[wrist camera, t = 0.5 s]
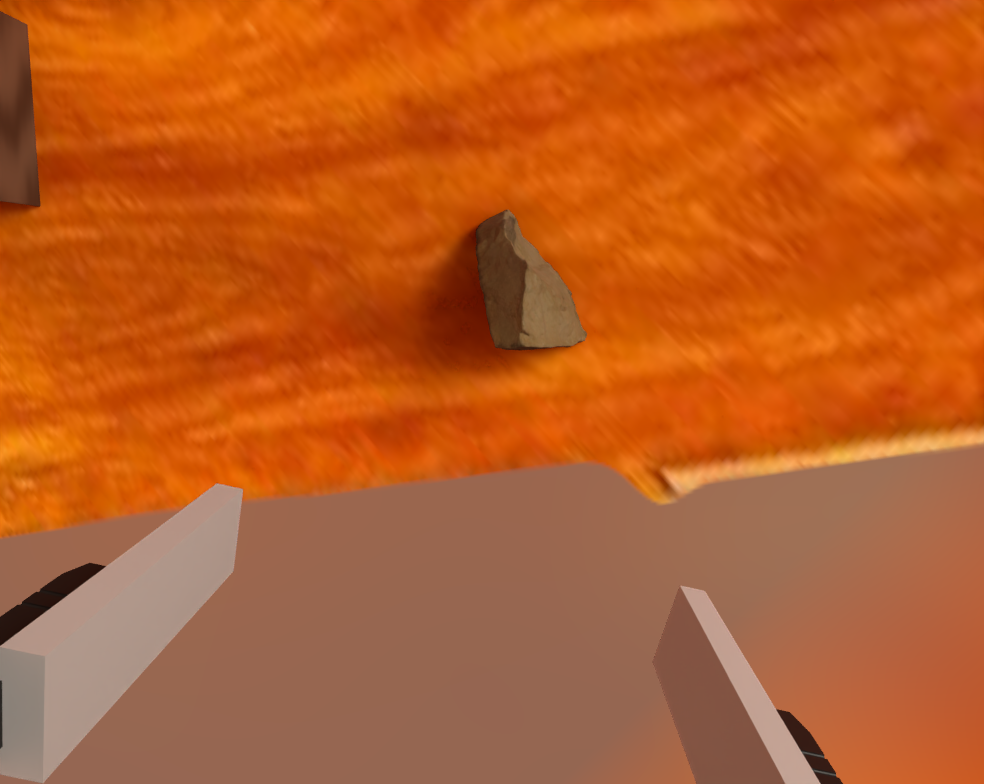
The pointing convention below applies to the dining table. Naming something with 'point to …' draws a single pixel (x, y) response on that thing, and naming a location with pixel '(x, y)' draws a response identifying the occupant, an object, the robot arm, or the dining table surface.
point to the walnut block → (16, 116)
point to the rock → (522, 290)
